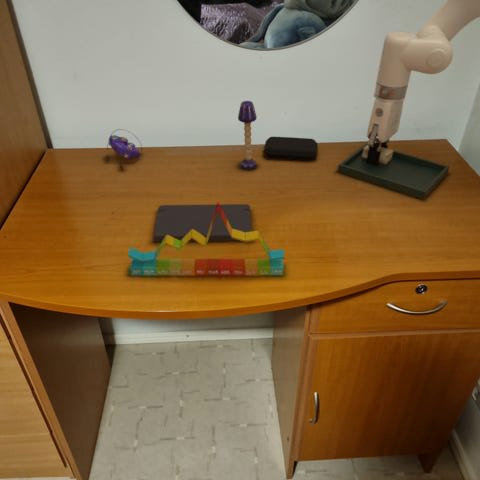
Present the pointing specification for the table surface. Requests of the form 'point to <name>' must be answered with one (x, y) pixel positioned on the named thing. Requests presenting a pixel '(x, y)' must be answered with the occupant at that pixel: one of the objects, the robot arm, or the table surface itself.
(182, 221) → the notebook
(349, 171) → the tray
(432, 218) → the table surface
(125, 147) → the purple ringed ornament
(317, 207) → the table surface
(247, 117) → the toy lamp
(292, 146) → the carrying case
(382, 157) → the wooden block
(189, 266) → the chart
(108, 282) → the table surface
